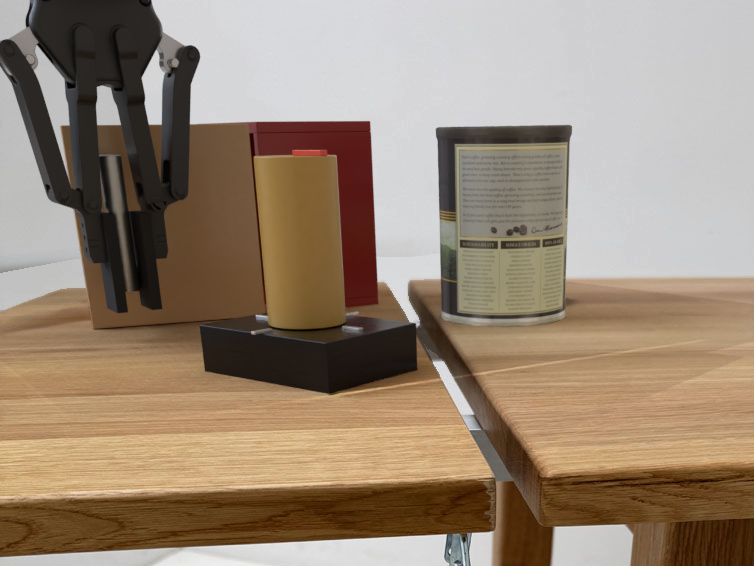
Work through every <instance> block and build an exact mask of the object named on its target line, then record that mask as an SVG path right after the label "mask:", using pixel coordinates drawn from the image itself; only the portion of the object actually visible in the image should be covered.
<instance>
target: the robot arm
mask: <svg viewBox="0 0 754 566" xmlns="http://www.w3.org/2000/svg"><path fill="white" fill-rule="evenodd" d="M24 20H25V21H24V22H25V28H23V29H21V30H20V31H18V32H16V33H15V34H13V35H11V36H10V37H9V38H6V39H2V40H0V69H1V70H2V71H3V74H5V76H6V77H7V79H8V80H9V82H10V83H11V86H12V90H13V92H14V96H15V98H16V99H15V100H16V102H17V105H18V108H19V111H20V115H21V118H22V121H23V124H24V127H25V130H26V131H25V132H26V133H27V137H28V140H29V143H30V146H31V150H32V153H33V156H34V159H35V161H36V166H37V169H38V173H39V175H40V179H41V182H42V184H43V188H44V191H45V194H46V197H47V199H48V200H49V201H50V202H52V203H54V204H57V205H60V206H64V207H67V208H70V209H72V211H73V210H75V211H76V213H77V214H78V216H79V221H80V227H81V233H82V239H83V245H84V253H85V256H86V257H87V259H88V261H89V262H92V263H101V270H102V276H103V283H104V290H105V296H106V303H107V308H108V309H110V310H112V311H114V312H116V313H127V312H128V307H127V300H126V293H125V286H124V279H123V272H122V265H121V257H120V250H119V243H118V236H117V229H116V222H115V215H114V214H109V213H105V212H101V209H102V196H101V179H100V163H99V147H98V131H97V125H98V117H97V114H98V113H97V102H98V88H99V87H102V86H103V87H106V88H108V89H109V88H110V90H111V95H112V99H113V101H114V104H115V106H116V108H117V113H118V117H119V122H120V125H121V127H122V132H123V137H124V141H125V146H126V151H127V155H128V160H129V164H130V169H131V174H132V178H133V183H134V188H135V192H136V197H137V201H138V204H139V205H140V210H141V211H129V216H130V223H131V230H132V237H133V245H134V252H135V259H136V266H137V273H138V280H139V288H140V290H139V294H140V301H141V305H142V306H144V307H146V308H149V309H151V310H159V309H162V302H161V294H160V286H159V278H158V270H157V262H156V259H164V258H167V254H168V244H167V237H166V228H165V220H164V211H165V210H166V209H167V206H168V205H170V204H172V203H174V202H176V201H179V200H184V199H185V198H186V197H187V196H188V181H189V141H190V124H191V99H192V97H191V95H192V94H191V93H192V90H191V89H192V82H193V80H194V77H195V74H196V72H197V69H198V67H199V63H200V61H201V53H200V50H199V49H198V47H196V46H195V45H192V44H190V45H186V44H183V43H181V42H180V41H178V40H176V39H175V38H173V37H172V36H170V35H169V34H167V33H165V32H164V28H163V25H162V22H161V20H160V18H159V17H158V15H157V13H156V11H155V8H154V5H153V1H152V0H29V5H28V9H27V13H26V15H25V19H24ZM36 47H38V49H40V51H41V52H42V54H43V55H44V56H45V57H46V59H48V61H49V62H50V63H51V65H52V66H53V67H54V68H55V70H57V72H58V73H59V74H60V75H61V77H62V78H63V81H64V91H65V93H64V94H65V101H66V102H67V110H68V123H69V125H70V139H71V153H72V167H73V181H74V189H72V188H71V185H70V182H69V179H68V174H67V168H66V165H65V162H64V159H63V156H62V153H61V150H60V149H61V148H60V146H59V143H58V140H57V139H58V138H57V136H56V133H55V129H54V126H53V123H52V119H51V117H50V113H49V110H48V106H47V103H46V100H45V96H44V93H43V90H42V87H41V83H40V81H39V78H38V76H37V74H36V72H35V70H36V69H37V67H38V65H39V60H38V56H37V54H36ZM156 51H157V54H158V57H159V58H158V59H159V60H158V65H159V68H160V70H161V72H163V73H164V74H163V79H162V88H161V125H162V139H161V182H160V177H159V172H158V167H157V162H156V157H155V152H154V148H153V143H152V138H151V133H150V128H149V125H150V123H149V117H148V113H147V109H146V104H145V103H146V93H145V88H144V83H143V79H142V78H143V76H144V74H145V73H146V70H147V68H148V66H149V65H150V62H151V61H152V59H153V57H154V55H155V53H156Z"/></svg>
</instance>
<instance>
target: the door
mask: <svg viewBox="0 0 754 566" xmlns="http://www.w3.org/2000/svg"><path fill="white" fill-rule="evenodd" d="M149 128H150V133H151V138H152V143H153V148H154V152H155V157H156V162H157V167H158V172H159V177H160V182H161V139H162V124H149ZM59 131H60V137H61V143H62V149H63V156H64V161H65V162H64V163H65V169H66V172H67V175H68V179H69V182H70V185H71V188H72V189H74V181H73V167H72V153H71V139H70V125H67V124H66V125H65V124H63V125H62V124H61V125H59ZM97 131H98V147H99V163H100V179H101V196H102V209H101V212H105V213H109V214H114V215H115V222H116V229H117V236H118V243H119V250H120V257H121V265H122V272H123V279H124V286H125V293H126V300H127V307H128V312H127V313H116V312H114V311H112V310H110V309H108V308H107V303H106V296H105V290H104V283H103V276H102V270H101V263H92V262H89V261H88V259H87V257H86V256H85V253H84V245H83V239H82V233H81V227H80V221H79V216H78V214H77V213H76V211H75V210H73V209H72V211H73V217H74V223H75V228H76V229H75V230H76V237H77V241H78V249H79V255H80V260H81V261H80V262H81V266H82V267H81V268H82V273H83V278H84V279H83V280H84V285H85V291H86V296H87V297H86V298H87V305H88V310H89V316H90V322H91V327H92V329H93V330H98V329H99V330H101V329H112V328H126V327H127V328H128V327H139V326H152V325H165V324H166V325H167V324H178V323H180V324H181V323H192V322H193V323H194V322H205V321H206V322H207V321H221V320H229V319H234V318H240V317H245V316H251V315H256V314H262V313H265V304H264V293H263V281H262V270H261V259H260V248H259V237H258V226H257V215H256V204H255V192H254V181H253V170H252V159H251V148H250V137H249V126H248V124H209V123H195V124H194V123H192V124H191V123H190V141H189V181H188V196H187V197H186V198H185V199H184V200H179V201H176V202H174V203H172V204H170V205H168V206H167V209H166V210H165V211H164V220H165V228H166V237H167V244H168V254H167V258H164V259H156V262H157V270H158V278H159V286H160V294H161V302H162V309H159V310H151V309H149V308H146V307H144V306H142V305H141V301H140V294H139V290H140V288H139V280H138V273H137V266H136V259H135V252H134V245H133V237H132V230H131V223H130V216H129V211H141V210H140V205H139V204H138V201H137V197H136V192H135V188H134V183H133V178H132V174H131V169H130V164H129V160H128V155H127V151H126V146H125V141H124V137H123V132H122V127H121V124H97Z"/></svg>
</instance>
